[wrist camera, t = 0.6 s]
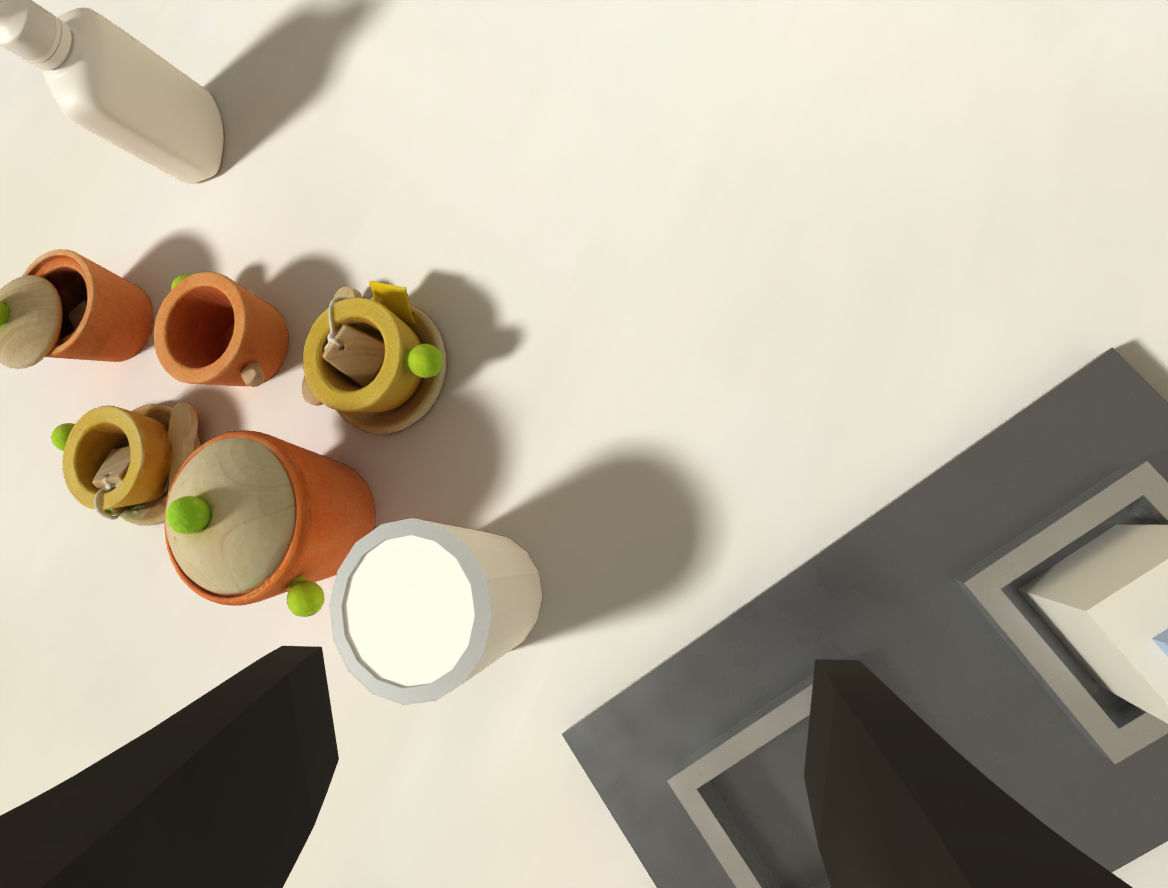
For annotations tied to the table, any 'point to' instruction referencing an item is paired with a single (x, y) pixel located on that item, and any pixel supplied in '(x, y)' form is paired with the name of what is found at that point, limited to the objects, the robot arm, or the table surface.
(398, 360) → the toy tea set
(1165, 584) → the plug
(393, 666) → the white cylinder
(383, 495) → the table surface
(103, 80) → the eye dropper bottle
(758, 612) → the panel
